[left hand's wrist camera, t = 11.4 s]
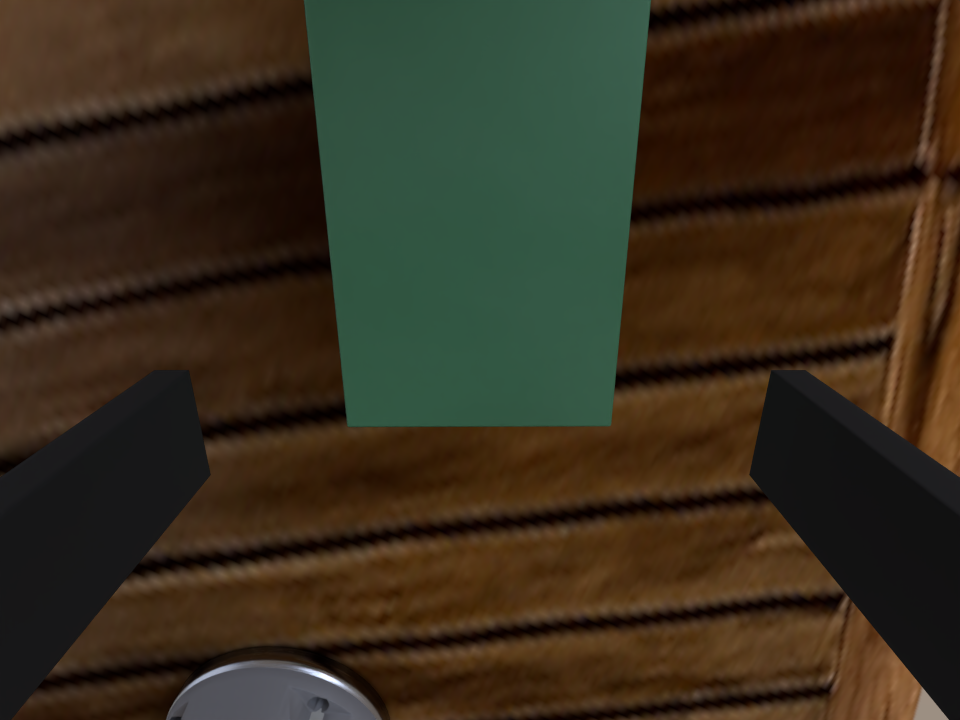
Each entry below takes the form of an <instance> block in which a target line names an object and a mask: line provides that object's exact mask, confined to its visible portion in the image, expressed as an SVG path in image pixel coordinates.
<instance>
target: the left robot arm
mask: <svg viewBox="0 0 960 720" xmlns="http://www.w3.org/2000/svg"><path fill="white" fill-rule="evenodd" d="M210 475H211V474H210V470H209V465H208V460H207V455H206V450H205V446H204V441H203V436H202V431H201V427H200V422H199V417H198V412H197V407H196V403H195V398H194V393H193V388H192V384H191V379H190V374H189V370H154V371H153V372H151V373H150V374H149V375H147V376H146V377H144V378H143V379H141V380H140V381H139V382H137V383H136V384H134V385H133V386H131V387H130V388H128V389H127V390H126V391H124V392H123V393H121V394H120V395H118V396H117V397H115V398H114V399H113V400H111V401H110V402H108V403H107V404H105V405H104V406H103V407H101V408H100V409H98V410H97V411H95V412H94V413H92V414H91V415H90V416H88V417H87V418H85V419H84V420H82V421H81V422H79V423H78V424H77V425H75V426H74V427H72V428H71V429H69V430H68V431H67V432H65V433H64V434H62V435H61V436H59V437H58V438H56V439H55V440H54V441H52V442H51V443H49V444H48V445H46V446H45V447H43V448H42V449H41V450H39V451H38V452H36V453H35V454H33V455H32V456H31V457H29V458H28V459H26V460H25V461H23V462H22V463H20V464H19V465H18V466H16V467H15V468H13V469H12V470H10V471H9V472H7V473H6V474H5V475H3V476H2V477H0V720H11V719H12V718H13V717H14V715H15V714H16V713H17V712H18V711H19V709H20V708H21V707H22V706H23V704H24V703H25V702H26V701H27V699H28V698H29V697H30V696H31V695H32V693H33V692H34V691H35V690H36V688H37V687H38V686H39V685H40V684H41V682H42V681H43V680H44V679H45V677H46V676H47V675H48V674H49V672H50V671H51V670H52V669H53V668H54V666H55V665H56V664H57V663H58V661H59V660H60V659H61V658H62V657H63V655H64V654H65V653H66V652H67V650H68V649H69V648H70V647H71V645H72V644H73V643H74V642H75V641H76V639H77V638H78V637H79V636H80V634H81V633H82V632H83V631H84V630H85V628H86V627H87V626H88V625H89V623H90V622H91V621H92V620H93V619H94V617H95V616H96V615H97V614H98V612H99V611H100V610H101V609H102V607H103V606H104V605H105V604H106V603H107V601H108V600H109V599H110V598H111V596H112V595H113V594H114V593H115V592H116V590H117V589H118V588H119V587H120V585H121V584H122V583H123V582H124V580H125V579H126V578H127V577H128V576H129V574H130V573H131V572H132V571H133V569H134V568H135V567H136V566H137V565H138V563H139V562H140V561H141V560H142V558H143V557H144V556H145V555H146V553H147V552H148V551H149V550H150V549H151V547H152V546H153V545H154V544H155V542H156V541H157V540H158V539H159V538H160V536H161V535H162V534H163V533H164V531H165V530H166V529H167V528H168V527H169V525H170V524H171V523H172V522H173V520H174V519H175V518H176V517H177V515H178V514H179V513H180V512H181V511H182V509H183V508H184V507H185V506H186V504H187V503H188V502H189V501H190V500H191V498H192V497H193V496H194V495H195V493H196V492H197V491H198V490H199V488H200V487H201V486H202V485H203V484H204V482H205V481H206V480H207V479H208V477H209V476H210ZM749 475H750V476H751V477H752V479H753V480H754V481H755V482H756V484H757V485H758V486H759V487H760V488H761V490H762V491H763V492H764V493H765V495H766V496H767V497H768V498H769V500H770V501H771V502H772V503H773V504H774V506H775V507H776V508H777V509H778V511H779V512H780V513H781V514H782V515H783V517H784V518H785V519H786V520H787V522H788V523H789V524H790V525H791V527H792V528H793V529H794V530H795V531H796V533H797V534H798V535H799V536H800V538H801V539H802V540H803V541H804V542H805V544H806V545H807V546H808V547H809V549H810V550H811V551H812V552H813V553H814V555H815V556H816V557H817V558H818V560H819V561H820V562H821V563H822V565H823V566H824V567H825V568H826V569H827V571H828V572H829V573H830V574H831V576H832V577H833V578H834V579H835V580H836V582H837V583H838V584H839V585H840V587H841V588H842V589H843V590H844V592H845V593H846V594H847V595H848V596H849V598H850V599H851V600H852V601H853V603H854V604H855V605H856V606H857V607H858V609H859V610H860V611H861V612H862V614H863V615H864V616H865V617H866V619H867V620H868V621H869V622H870V623H871V625H872V626H873V627H874V628H875V630H876V631H877V632H878V633H879V634H880V636H881V637H882V638H883V639H884V641H885V642H886V643H887V644H888V645H889V647H890V648H891V649H892V650H893V652H894V653H895V654H896V655H897V657H898V658H899V659H900V660H901V661H902V663H903V664H904V665H905V666H906V668H907V669H908V670H909V671H910V672H911V674H912V675H913V676H914V677H915V679H916V680H917V681H918V682H919V684H920V685H921V686H922V687H923V688H924V690H925V691H926V692H927V693H928V695H929V696H930V697H931V698H932V699H933V701H934V702H935V703H936V704H937V706H938V707H939V708H940V709H941V711H942V712H943V713H944V714H945V715H946V717H947V718H948V719H949V720H960V477H958V476H957V475H955V474H954V473H953V472H951V471H950V470H948V469H947V468H945V467H944V466H942V465H941V464H940V463H938V462H937V461H935V460H934V459H932V458H931V457H929V456H928V455H927V454H925V453H924V452H922V451H921V450H919V449H918V448H917V447H915V446H914V445H912V444H911V443H909V442H908V441H906V440H905V439H904V438H902V437H901V436H899V435H898V434H896V433H895V432H893V431H892V430H891V429H889V428H888V427H886V426H885V425H883V424H882V423H881V422H879V421H878V420H876V419H875V418H873V417H872V416H870V415H869V414H868V413H866V412H865V411H863V410H862V409H860V408H859V407H857V406H856V405H855V404H853V403H852V402H850V401H849V400H847V399H846V398H845V397H843V396H842V395H840V394H839V393H837V392H836V391H834V390H833V389H832V388H830V387H829V386H827V385H826V384H824V383H823V382H821V381H820V380H819V379H817V378H816V377H814V376H813V375H811V374H810V373H809V372H807V371H806V370H771V374H770V379H769V384H768V388H767V393H766V398H765V403H764V407H763V412H762V417H761V422H760V427H759V431H758V436H757V441H756V446H755V450H754V455H753V460H752V465H751V470H750V474H749ZM166 720H390V718H389V714H388V711H387V709H386V707H385V704H384V703H383V701H382V699H381V698H380V696H379V695H378V693H377V692H376V691H375V690H374V689H373V688H372V686H371V685H370V684H369V683H368V682H366V681H365V680H364V679H363V678H362V677H361V676H359V675H358V674H357V673H355V672H354V671H352V670H351V669H349V668H347V667H346V666H344V665H342V664H340V663H338V662H336V661H334V660H331V659H329V658H327V657H324V656H321V655H318V654H315V653H311V652H307V651H303V650H298V649H292V648H283V647H257V648H248V649H242V650H237V651H234V652H230V653H227V654H224V655H221V656H219V657H217V658H215V659H213V660H210V661H209V662H207V663H205V664H204V665H202V666H201V667H200V668H198V669H197V670H196V671H195V672H194V673H193V674H192V675H191V676H190V677H189V678H188V679H187V681H186V682H185V683H184V685H183V687H182V688H181V690H180V692H179V694H178V696H177V698H176V699H175V701H174V703H173V705H172V707H171V708H170V710H169V713H168V716H167V719H166Z"/></svg>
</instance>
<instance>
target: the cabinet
mask: <svg viewBox="0 0 960 720" xmlns="http://www.w3.org/2000/svg"><path fill="white" fill-rule="evenodd" d="M650 4H651V0H304V6H305V16H306V26H307V36H308V45H309V55H310V65H311V75H312V85H313V94H314V104H315V114H316V124H317V133H318V143H319V153H320V163H321V173H322V182H323V192H324V202H325V212H326V222H327V231H328V241H329V251H330V261H331V270H332V280H333V290H334V300H335V310H336V319H337V329H338V339H339V349H340V359H341V368H342V378H343V388H344V398H345V407H346V417H347V425H348V427H505V426H610V425H611V419H612V408H613V398H614V387H615V377H616V366H617V355H618V345H619V334H620V323H621V313H622V302H623V291H624V281H625V270H626V259H627V249H628V238H629V227H630V217H631V206H632V196H633V185H634V174H635V164H636V153H637V142H638V132H639V121H640V110H641V100H642V89H643V78H644V68H645V57H646V47H647V36H648V25H649V15H650Z"/></svg>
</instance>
